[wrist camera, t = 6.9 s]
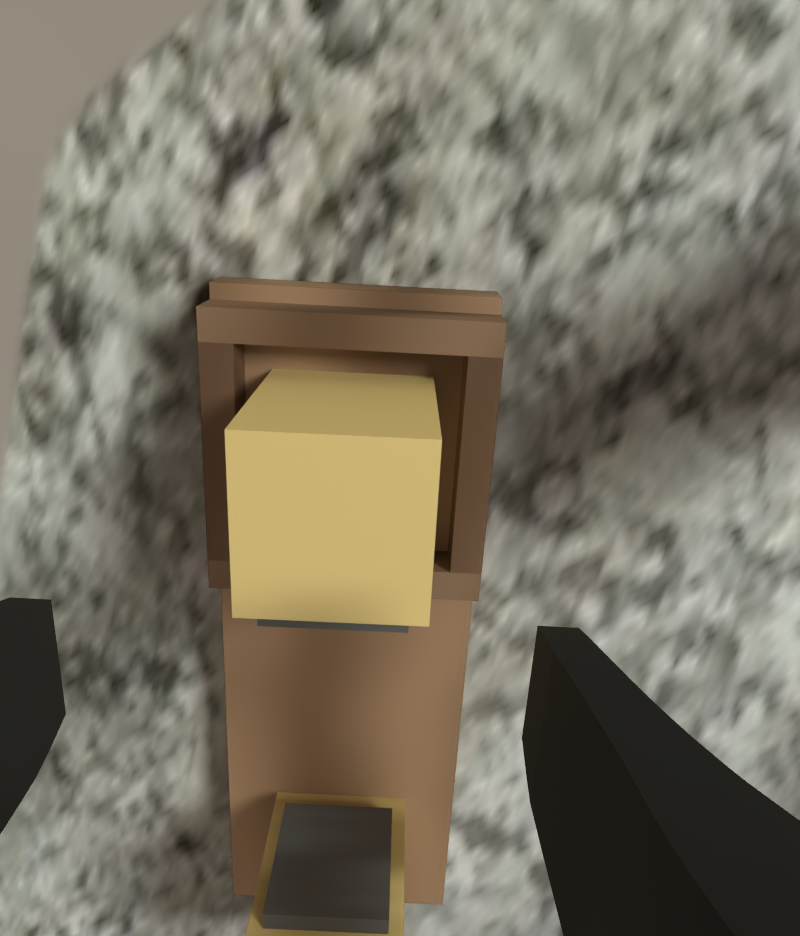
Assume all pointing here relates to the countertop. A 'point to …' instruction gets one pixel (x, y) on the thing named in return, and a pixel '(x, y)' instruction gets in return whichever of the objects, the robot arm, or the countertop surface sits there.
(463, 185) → the countertop surface
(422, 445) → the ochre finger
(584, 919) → the robot arm
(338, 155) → the countertop surface
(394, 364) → the brown wooden tray
